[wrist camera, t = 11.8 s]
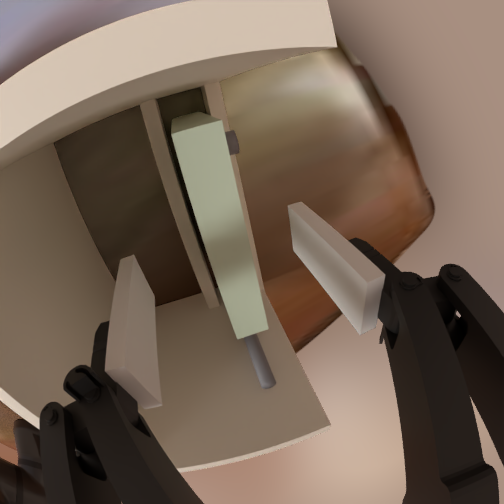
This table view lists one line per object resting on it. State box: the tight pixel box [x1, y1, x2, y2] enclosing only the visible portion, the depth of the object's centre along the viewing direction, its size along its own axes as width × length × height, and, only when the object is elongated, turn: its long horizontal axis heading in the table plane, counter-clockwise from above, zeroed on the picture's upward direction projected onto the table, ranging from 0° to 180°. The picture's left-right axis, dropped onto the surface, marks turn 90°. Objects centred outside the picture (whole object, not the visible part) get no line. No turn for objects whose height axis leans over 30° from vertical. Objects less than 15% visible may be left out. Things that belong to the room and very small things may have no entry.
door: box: [171, 111, 269, 339], centre depth 17 cm, size 12×3×10 cm, turn 11°
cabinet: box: [0, 0, 337, 473], centre depth 15 cm, size 20×14×16 cm
